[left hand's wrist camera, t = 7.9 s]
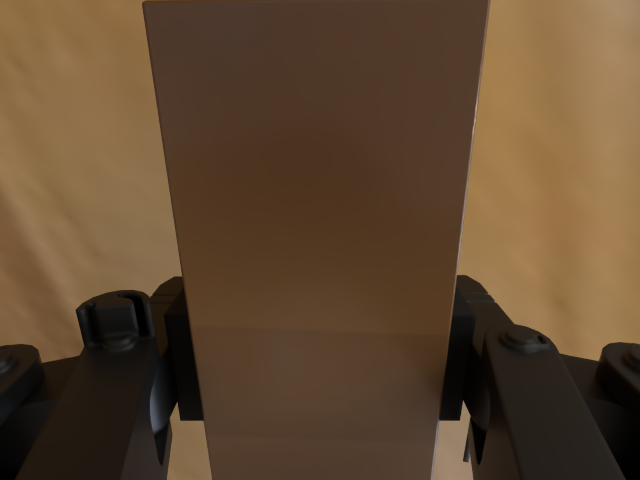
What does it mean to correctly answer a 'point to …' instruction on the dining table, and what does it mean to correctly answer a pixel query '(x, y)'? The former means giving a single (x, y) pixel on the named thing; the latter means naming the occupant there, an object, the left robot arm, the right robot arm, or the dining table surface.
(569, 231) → the dining table surface
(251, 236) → the post
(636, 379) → the left robot arm
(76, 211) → the dining table surface
